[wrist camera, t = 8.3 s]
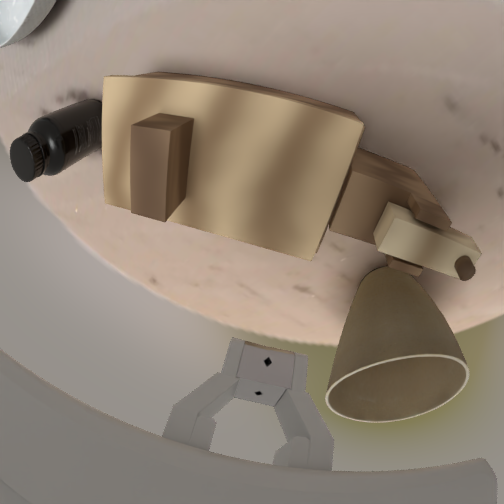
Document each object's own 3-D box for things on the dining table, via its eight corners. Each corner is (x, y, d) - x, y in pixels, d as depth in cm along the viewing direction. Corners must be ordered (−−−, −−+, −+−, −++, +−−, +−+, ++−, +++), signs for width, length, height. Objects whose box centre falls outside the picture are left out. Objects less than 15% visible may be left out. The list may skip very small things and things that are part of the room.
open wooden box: (424, 142, 24) (471, 184, 15) (382, 236, 31) (399, 303, 23) (158, 71, 25) (91, 85, 16) (150, 171, 32) (96, 216, 24)
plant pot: (434, 227, 29) (482, 337, 16) (435, 311, 36) (456, 407, 23) (316, 255, 35) (307, 372, 22) (342, 330, 42) (338, 428, 29)
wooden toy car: (471, 237, 20) (487, 262, 17) (454, 263, 21) (467, 290, 19) (388, 201, 20) (398, 226, 17) (373, 233, 22) (379, 261, 19)
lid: (359, 118, 19) (374, 137, 14) (312, 246, 27) (308, 293, 22) (118, 73, 20) (71, 84, 15) (116, 193, 28) (81, 224, 23)
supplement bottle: (85, 89, 26) (9, 116, 17) (121, 115, 28) (47, 150, 19) (68, 132, 30) (2, 169, 21) (101, 158, 32) (36, 203, 23)
